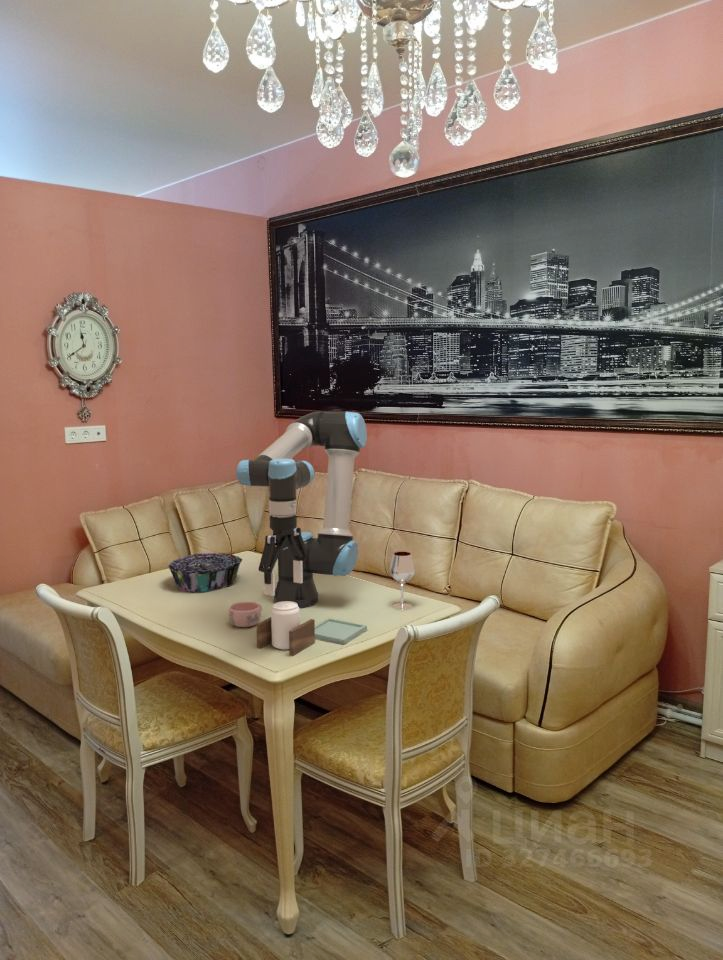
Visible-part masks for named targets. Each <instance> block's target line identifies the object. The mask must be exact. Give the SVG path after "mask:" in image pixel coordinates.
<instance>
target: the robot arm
mask: <svg viewBox="0 0 723 960" xmlns="http://www.w3.org/2000/svg"><path fill="white" fill-rule="evenodd" d="M367 441H368V434H367V426H366V422H365V420H364V418H363V416H362V415H361V414H360V413H359V412H353V411H352V412H351V411H313V412H310V413H308V414H306V415H303V416H301V417H299V418H297V419H296V420H294V421H292V422H291V423H290V424H289V425H288V426H287V427H286V429H285V432H284V433H283V434H281V436H280V437H279V438H277V439H276V440H275V441H274V442H273V443H271V444H270V445H269V446H268V447H267V448H266V449H264V450H263V451H262V452H261V453H260V454H259V455H258V456H257V457H255V458H254V459H252V460H251V459H243V460H240V461H239V462H238V464H237V465H236V466H237V467H236V472H235V474H236V479H237V481H238V483H239V484H240V485H241V486H250V487H267V488H268V496H269V497H268V502H269V503H268V508H269V509H268V510H269V511H268V513H269V514H270V515H269V528H270V530H271V531H272V535H265V536H264V537H265V538H264V546H263V551H262V552H261V553H262V554H261V558H260V561H259V564H258V565H259V566H258V571H259V572H262V573H263V579H264V581H263V582H264V595H266V596H271V597H273V604H275V603H277V602H283V601H291V602H295V603H297V604H298V607H299V609H300V608H307V607H310V606H314V605H315V604H317V603H318V602H319V592H318V589H317V586H316V583H315V579H314V574H317V575H325V576H334V577H337V576H338V577H340V576H341V577H344V576H348V575H350V574H351V573H352V572H353V570H354V568H355V566H356V564H357V560H358V555H359V545H358V543H357V541H355V540H354V535H353V534H352V532H351V531H350V520H351V507H352V506H351V505H352V494H353V484H354V483H353V482H354V481H353V479H354V469H355V468H354V467H355V459H356V457H357V456H359V455H360V449H363V448H365V447H366V444H367ZM309 447H324V452H325V453H326V455H327V456H328V461H327V476H326V487H325V497H324V499H325V500H324V512H323V525H322V528H321V530H319V531H318V532H317V537H314V536H313V533H312V532H310V531H302V530H301V527H298V519H297V515H296V514H297V490H298V489H301V488H305V487H307V486H308V485H310V484H311V483H312V482H313V480H314V479H315V469H314V467H313V465H312V464H311V463H310V462H308V461H306V460H294V459H293V458H294V457H295V456H296V455H297V454H298V453H300V452H301V451H304V450H306V449H308V448H309ZM276 563H277V575H278V576H277V578H278V579H277V583H276V582H275V572H274V568H275V566H276ZM275 583H276V586H275Z"/></svg>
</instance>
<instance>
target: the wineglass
mask: <svg viewBox="0 0 723 960" xmlns="http://www.w3.org/2000/svg"><path fill="white" fill-rule="evenodd" d="M415 572H416V570H415V564H414V560H413V555H412V552H410V551H395V552H394V553H393V554H392V557H391V562H390V566H389V575H390V576H391V577H392V579H394V580H395V581H396V582H397V583H398V585H400V602H398V603H394V604H392V606H391V607H392V608H393V609H395V610H398V611H407V610H410V609H412V607H413V605H412V604H410V603H405V602H404V586H405V584H406V583H408V582H409V581H410V580H411V579H412V578H413V577H414V575H415Z"/></svg>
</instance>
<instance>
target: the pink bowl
mask: <svg viewBox="0 0 723 960" xmlns="http://www.w3.org/2000/svg"><path fill="white" fill-rule="evenodd" d="M227 610H228V611H227V612H228V615H227V616H228V618H229V621H230V622H231V624H232V625H233V626H235V627H237V628H248V627H252V626H255V625H256V624H258V623H259V621H260V619H261V617H262V616H261V615H262V611H263V607H262V605H261V604H260V603H258V602H255V601H238V602H234V603H232V604H231V605H229V607H228V609H227Z"/></svg>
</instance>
